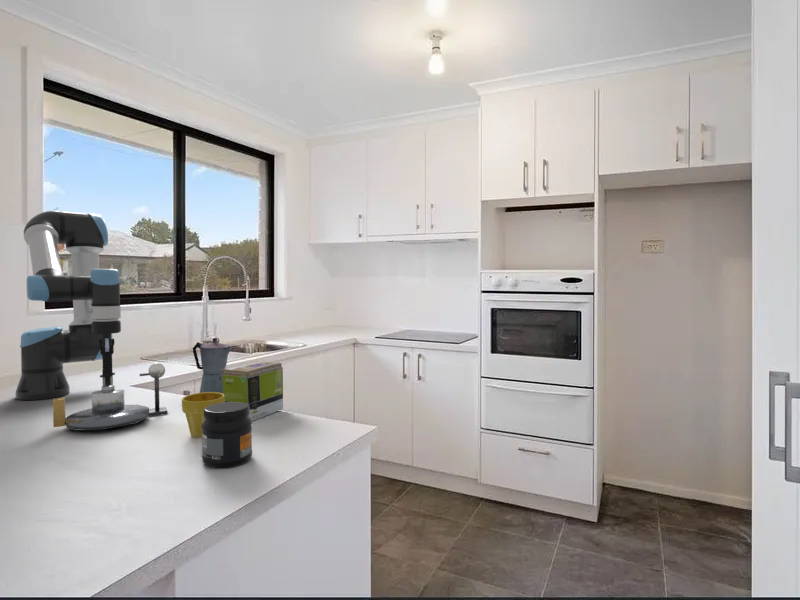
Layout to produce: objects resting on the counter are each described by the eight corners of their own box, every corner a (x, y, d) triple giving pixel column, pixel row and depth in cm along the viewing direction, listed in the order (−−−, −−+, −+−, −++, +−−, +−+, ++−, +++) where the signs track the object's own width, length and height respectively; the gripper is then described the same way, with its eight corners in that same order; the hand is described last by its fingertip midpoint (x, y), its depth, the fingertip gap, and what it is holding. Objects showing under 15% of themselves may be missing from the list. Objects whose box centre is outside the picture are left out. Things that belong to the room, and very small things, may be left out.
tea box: (258, 406, 155) (258, 360, 154) (283, 410, 150) (283, 362, 150) (222, 418, 141) (221, 367, 141) (248, 423, 137) (248, 370, 136)
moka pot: (224, 399, 164) (223, 339, 163) (183, 397, 167) (182, 338, 166) (239, 393, 173) (238, 336, 172) (200, 391, 176) (199, 335, 175)
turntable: (56, 417, 138) (56, 392, 138) (146, 406, 150) (146, 383, 149) (50, 436, 121) (49, 408, 121) (152, 422, 132) (151, 396, 132)
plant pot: (183, 442, 120) (183, 403, 120) (181, 431, 129) (180, 394, 129) (228, 436, 125) (227, 398, 125) (222, 425, 134) (221, 390, 134)
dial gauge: (139, 413, 146) (138, 362, 146) (165, 410, 150) (164, 360, 149) (140, 417, 142) (139, 365, 142) (167, 414, 146) (166, 363, 145)
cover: (92, 407, 142) (91, 385, 142) (124, 404, 146) (123, 382, 146) (91, 414, 135) (91, 390, 135) (125, 410, 140) (124, 387, 139)
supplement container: (261, 454, 112) (260, 402, 112) (235, 471, 102) (235, 414, 101) (220, 450, 114) (219, 399, 114) (191, 467, 104) (190, 411, 104)
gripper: (91, 319, 151) (93, 394, 152) (91, 322, 140) (93, 403, 141) (119, 318, 155) (121, 392, 156) (121, 321, 144) (123, 400, 145)
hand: (108, 397), depth 148 cm, fingers closed
